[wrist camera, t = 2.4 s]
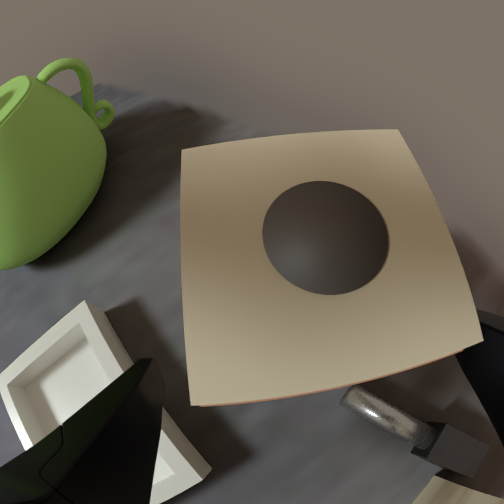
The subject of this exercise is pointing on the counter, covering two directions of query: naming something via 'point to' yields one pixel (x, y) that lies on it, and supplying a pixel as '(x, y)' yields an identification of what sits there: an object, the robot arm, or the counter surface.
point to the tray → (87, 392)
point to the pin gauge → (420, 433)
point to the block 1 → (314, 266)
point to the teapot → (47, 160)
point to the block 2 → (452, 494)
